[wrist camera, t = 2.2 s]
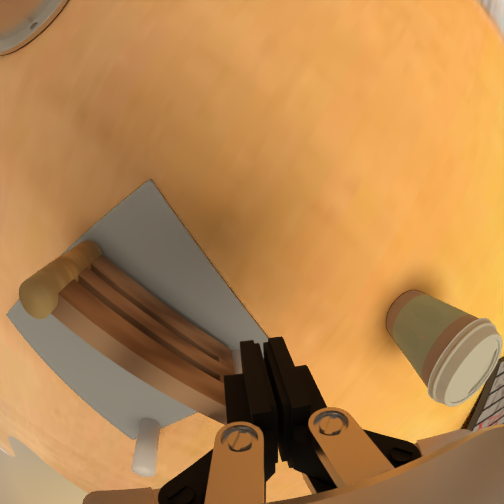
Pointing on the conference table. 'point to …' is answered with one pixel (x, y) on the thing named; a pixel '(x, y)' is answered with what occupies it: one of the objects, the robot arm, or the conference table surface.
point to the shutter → (490, 401)
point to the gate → (131, 328)
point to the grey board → (163, 288)
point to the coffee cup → (444, 345)
